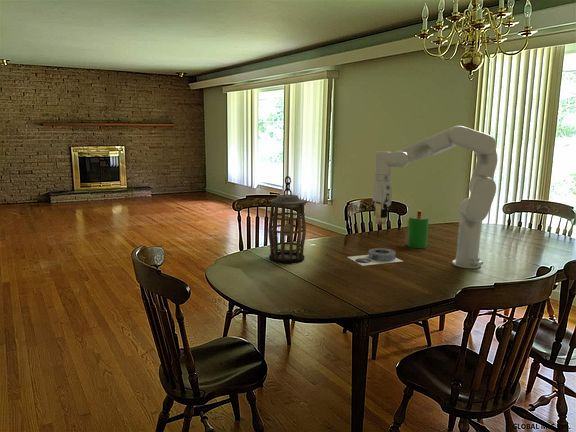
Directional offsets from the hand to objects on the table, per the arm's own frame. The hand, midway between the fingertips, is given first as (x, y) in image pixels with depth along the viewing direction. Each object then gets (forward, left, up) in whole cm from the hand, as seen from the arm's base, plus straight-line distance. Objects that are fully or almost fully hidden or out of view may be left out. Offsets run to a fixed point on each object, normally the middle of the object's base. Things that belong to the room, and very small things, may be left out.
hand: (380, 216), depth 215 cm
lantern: (+16, +41, -22) cm, 49 cm away
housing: (0, -2, -21) cm, 21 cm away
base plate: (-1, +2, -22) cm, 22 cm away
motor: (+17, -35, -22) cm, 45 cm away
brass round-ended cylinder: (0, 0, -3) cm, 3 cm away
